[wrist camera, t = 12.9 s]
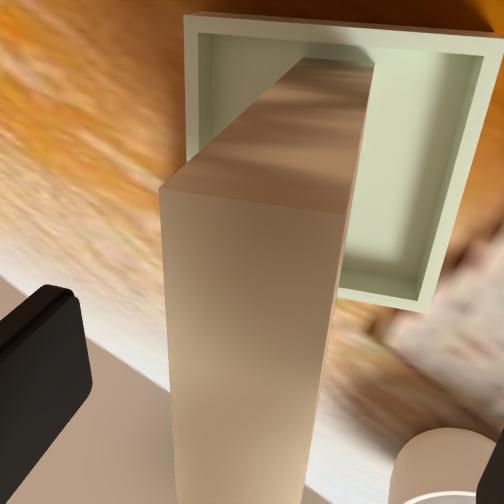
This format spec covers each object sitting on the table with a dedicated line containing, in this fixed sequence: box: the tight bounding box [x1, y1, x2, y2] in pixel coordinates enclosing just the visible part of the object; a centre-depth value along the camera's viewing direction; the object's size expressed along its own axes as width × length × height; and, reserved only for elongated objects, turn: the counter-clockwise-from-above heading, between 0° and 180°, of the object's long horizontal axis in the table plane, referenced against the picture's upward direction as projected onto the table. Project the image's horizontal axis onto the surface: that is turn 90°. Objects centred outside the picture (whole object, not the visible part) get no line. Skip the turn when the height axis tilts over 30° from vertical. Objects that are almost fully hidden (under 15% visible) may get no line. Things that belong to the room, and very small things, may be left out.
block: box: [159, 57, 375, 504], centre depth 16 cm, size 3×9×15 cm, turn 177°
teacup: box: [388, 428, 496, 504], centre depth 27 cm, size 10×8×5 cm
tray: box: [183, 11, 504, 314], centre depth 22 cm, size 12×12×2 cm
